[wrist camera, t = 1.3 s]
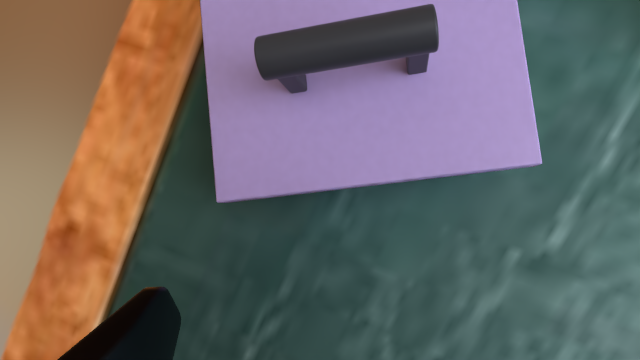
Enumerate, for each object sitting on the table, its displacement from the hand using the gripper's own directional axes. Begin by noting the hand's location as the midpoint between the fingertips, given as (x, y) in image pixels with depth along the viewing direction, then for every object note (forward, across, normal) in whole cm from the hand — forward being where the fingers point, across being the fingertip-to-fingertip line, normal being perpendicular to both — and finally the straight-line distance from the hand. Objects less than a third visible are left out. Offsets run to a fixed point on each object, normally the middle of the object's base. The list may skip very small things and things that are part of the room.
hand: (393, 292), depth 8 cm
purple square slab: (+13, +1, -3) cm, 14 cm away
